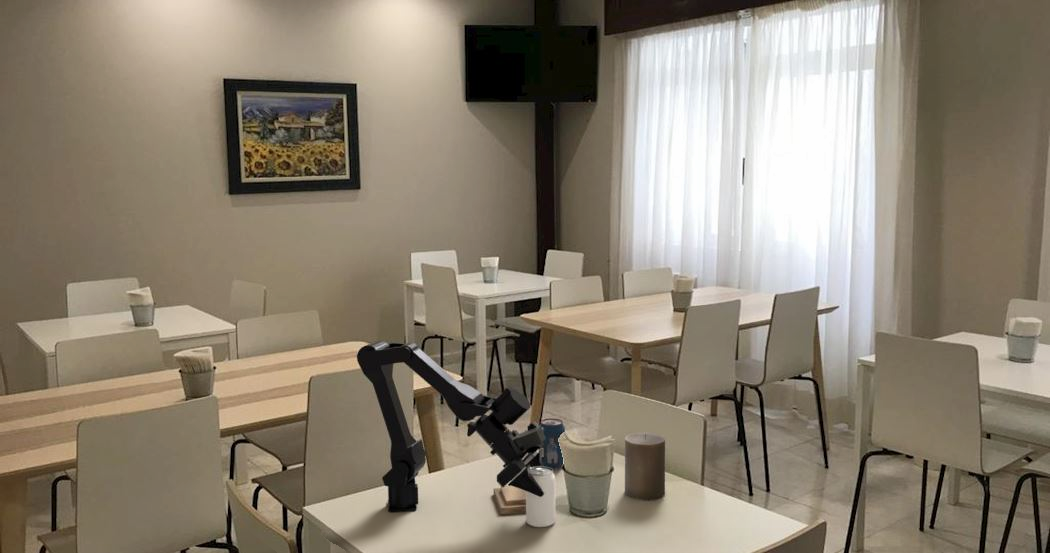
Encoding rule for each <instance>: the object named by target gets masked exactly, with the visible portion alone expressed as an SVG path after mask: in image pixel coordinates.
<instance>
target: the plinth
mask: <svg viewBox="0 0 1050 553" xmlns="http://www.w3.org/2000/svg"><path fill="white" fill-rule="evenodd" d="M493 497H494V500H495V502H496V504H497V507H499V508H498V510H499V513H500V515H509V514H521V513H524V514H525V513H526V491H525V490H522V489H519V488H517V487H514V486H508V485H505V486H504V487H503V488H502V487H501V486H500V487H497V488H493Z"/></svg>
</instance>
